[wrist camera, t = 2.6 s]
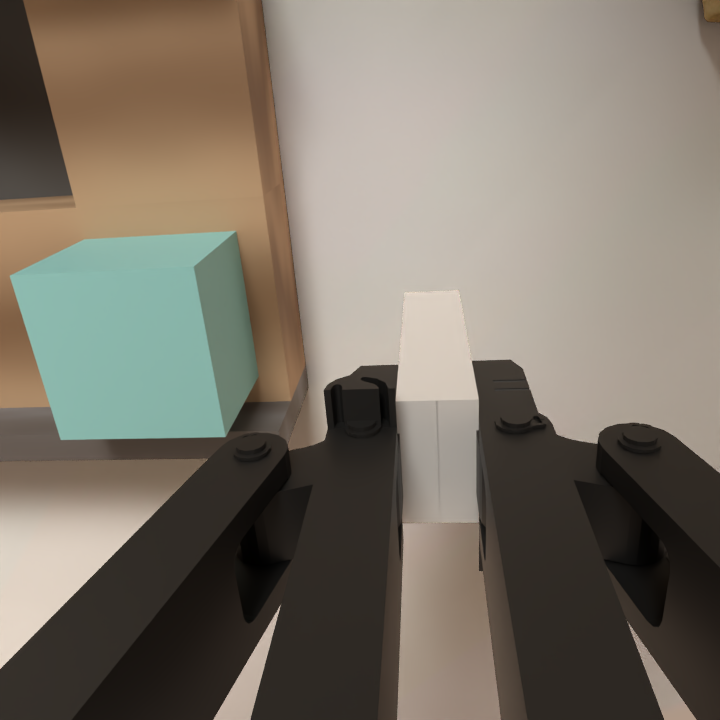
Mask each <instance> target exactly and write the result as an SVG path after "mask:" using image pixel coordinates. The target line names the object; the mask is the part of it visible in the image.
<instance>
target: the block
mask: <svg viewBox="0 0 720 720" xmlns="http://www.w3.org/2000/svg"><path fill="white" fill-rule="evenodd" d="M10 279H11V282H12V285H13V288H14V292H15V295H16V298H17V301H18V304H19V308H20V311H21V314H22V317H23V320H24V324H25V327H26V330H27V333H28V336H29V340H30V343H31V346H32V349H33V353H34V356H35V359H36V362H37V365H38V369H39V372H40V375H41V378H42V381H43V385H44V388H45V391H46V394H47V397H48V401H49V404H50V407H51V410H52V413H53V417H54V420H55V423H56V426H57V430H58V433H59V436H60V439H61V440H86V439H144V438H201V437H226V435H227V434H228V432H229V430H230V428H231V426H232V424H233V423H234V421H235V419H236V417H237V415H238V413H239V411H240V410H241V408H242V406H243V404H244V402H245V400H246V399H247V397H248V395H249V393H250V391H251V389H252V388H253V386H254V384H255V382H256V380H257V378H258V377H259V374H258V368H257V361H256V355H255V349H254V342H253V336H252V329H251V323H250V316H249V310H248V303H247V297H246V291H245V284H244V278H243V271H242V265H241V258H240V252H239V245H238V239H237V233H236V231H226V232H208V233H190V234H172V235H154V236H136V237H118V238H100V239H84V240H82V241H80V242H78V243H76V244H74V245H72V246H70V247H68V248H66V249H63V250H61V251H59V252H57V253H55V254H53V255H51V256H49V257H47V258H45V259H43V260H41V261H39V262H37V263H35V264H33V265H31V266H29V267H27V268H24V269H22V270H20V271H18V272H16V273H14V274H12V275H10Z"/></svg>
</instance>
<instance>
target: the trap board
mask: <svg viewBox="0 0 720 720" xmlns="http://www.w3.org/2000/svg"><path fill="white" fill-rule="evenodd" d="M226 231H236V233H237V239H238V245H239V252H240V258H241V265H242V271H243V278H244V284H245V291H246V297H247V303H248V310H249V316H250V323H251V329H252V336H253V342H254V349H255V355H256V361H257V368H258V374H259V377H258V378H257V380H256V382H255V384H254V386H253V388H252V389H251V391H250V393H249V395H248V397H247V399H246V400H245V402H244V404H243V406H242V408H241V410H240V411H239V413H238V415H237V417H236V419H235V421H234V423H233V424H232V426H231V428H230V430H229V432H228V434H227V435H226V437H201V438H144V439H86V440H61V439H60V436H59V433H58V430H57V426H56V423H55V420H54V417H53V413H52V410H51V407H50V404H49V401H48V397H47V394H46V391H45V388H44V385H43V381H42V378H41V375H40V372H39V369H38V365H37V362H36V359H35V356H34V353H33V349H32V346H31V343H30V340H29V336H28V333H27V330H26V327H25V324H24V320H23V317H22V314H21V311H20V308H19V304H18V301H17V298H16V295H15V292H14V288H13V285H12V282H11V279H10V275H12V274H14V273H16V272H18V271H20V270H22V269H24V268H27V267H29V266H31V265H33V264H35V263H37V262H39V261H41V260H43V259H45V258H47V257H49V256H51V255H53V254H55V253H57V252H59V251H61V250H63V249H66V248H68V247H70V246H72V245H74V244H76V243H78V242H80V241H82V240H84V239H100V238H118V237H136V236H154V235H172V234H190V233H208V232H226ZM307 390H308V382H307V373H306V365H305V357H304V349H303V340H302V332H301V324H300V315H299V307H298V299H297V291H296V282H295V274H294V266H293V257H292V249H291V241H290V233H289V224H288V216H287V208H286V200H285V191H284V183H283V175H282V166H281V158H280V150H279V142H278V133H277V125H276V117H275V108H274V100H273V92H272V84H271V75H270V67H269V59H268V50H267V42H266V34H265V26H264V17H263V9H262V1H261V0H0V461H52V460H126V459H200V458H210V457H211V456H212V455H213V454H214V453H215V452H216V451H217V450H218V449H219V448H220V447H221V446H222V445H224V444H225V443H227V442H228V441H229V440H231V439H234V438H236V437H239V436H241V435H243V434H247V433H249V434H250V433H254V432H259V433H271V434H275V435H279V436H280V437H282V438H283V439H285V440H286V442H287V445H288V442H289V439H290V436H291V434H292V431H293V428H294V425H295V423H296V420H297V417H298V415H299V412H300V409H301V406H302V404H303V401H304V398H305V395H306V393H307Z"/></svg>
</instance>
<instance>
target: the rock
mask: <svg viewBox="0 0 720 720" xmlns="http://www.w3.org/2000/svg"><path fill="white" fill-rule="evenodd" d="M702 3H703V8H704V18H705V20H706V21H707V22H720V0H702Z"/></svg>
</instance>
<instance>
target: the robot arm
mask: <svg viewBox="0 0 720 720" xmlns="http://www.w3.org/2000/svg"><path fill="white" fill-rule="evenodd" d="M324 397H325V407H326V416H327V425H328V430H327V434H326V438H325V440H324V441H323V442H320V443H318V444H315V445H313V446H309V447H305V448H301V449H296V450H291V451H289V450H288V445H287V442H286V440H285V439H283V438H282V437H280V436H279V435H275V434H271V433H259V432H254V433H250V434H249V433H247V434H243V435H241V436H239V437H236V438H234V439H231V440H229V441H228V442H227V443H225V444H224V445H222V446H221V447H220V448H219V449H218V450H217V451H216V452H215V453H214V454H213V455H212V456H211V457H210V458H209V459H208V460H207V461H206V462H205V463H204V464H203V465H202V466H201V467H200V468H199V469H198V470H197V471H196V472H195V473H194V474H193V475H192V476H191V477H190V478H189V479H188V480H187V481H186V482H185V483H184V484H183V485H182V486H181V487H180V488H179V489H178V490H177V491H176V492H175V493H174V494H173V495H172V496H171V497H170V498H169V499H168V500H167V501H166V502H165V503H164V504H163V505H162V506H161V507H160V508H159V509H158V510H157V511H156V512H155V513H154V514H153V516H152V517H151V518H150V519H149V520H148V521H147V522H146V523H145V524H144V525H143V526H142V527H141V528H140V529H139V530H138V531H137V532H136V533H135V534H134V535H133V536H132V537H131V538H130V539H129V540H128V541H127V542H126V543H125V544H124V545H123V546H122V547H121V548H120V549H119V550H118V551H117V552H116V553H115V554H114V555H113V556H112V557H111V558H110V559H109V560H108V561H107V562H106V563H105V564H104V565H103V566H102V567H101V568H100V569H99V570H98V571H97V572H96V573H95V574H94V575H93V576H92V577H91V578H90V579H89V580H88V581H87V582H86V583H85V584H84V585H83V586H82V587H81V588H80V589H79V590H78V591H77V592H76V593H75V594H74V595H73V596H72V597H71V598H70V599H69V600H68V601H67V602H66V603H65V604H64V605H63V606H62V607H61V608H60V609H59V610H58V611H57V612H56V613H55V614H54V615H53V616H52V617H51V618H50V619H49V620H48V621H47V622H46V623H45V625H44V626H43V627H42V628H41V629H40V630H39V631H38V632H37V633H36V634H35V635H34V636H33V637H32V638H31V639H30V640H29V641H28V642H27V643H26V644H25V645H24V646H23V647H22V648H21V649H20V650H19V651H18V652H17V653H16V654H15V655H14V656H13V657H12V658H11V659H10V660H9V661H8V662H7V663H6V664H5V665H4V666H3V667H2V668H1V669H0V720H213V719H214V717H215V715H216V714H217V712H218V710H219V709H220V707H221V705H222V704H223V702H224V700H225V698H226V697H227V695H228V693H229V692H230V690H231V688H232V686H233V685H234V683H235V681H236V680H237V678H238V676H239V675H240V673H241V671H242V669H243V668H244V666H245V664H246V663H247V661H248V659H249V657H250V656H251V654H252V652H253V651H254V649H255V647H256V646H257V644H258V642H259V640H260V639H261V637H262V635H263V634H264V632H265V630H266V629H267V627H268V625H269V623H270V622H271V620H272V618H273V617H274V615H275V613H276V611H277V610H278V608H279V606H280V605H281V607H280V611H279V615H278V618H277V622H276V626H275V630H274V633H273V637H272V641H271V645H270V648H269V652H268V656H267V660H266V663H265V667H264V671H263V675H262V678H261V682H260V686H259V690H258V693H257V697H256V701H255V705H254V708H253V712H252V716H251V720H397V704H398V676H399V648H400V620H401V593H402V565H403V524H402V523H479V571H483V574H484V582H485V591H486V599H487V607H488V615H489V623H490V632H491V640H492V648H493V656H494V664H495V673H496V681H497V689H498V697H499V705H500V714H501V720H664V718H663V715H662V713H661V710H660V707H659V705H658V702H657V699H656V697H655V694H654V692H653V689H652V686H651V684H650V681H649V678H648V676H647V673H646V670H645V668H644V665H643V662H642V660H641V657H640V654H639V652H638V649H637V647H636V644H635V641H634V639H633V636H632V633H631V631H630V628H629V625H628V623H627V621H628V622H629V624H630V625H631V627H632V628H633V630H634V631H635V632H636V634H637V635H638V637H639V638H640V640H641V641H642V642H643V644H644V645H645V647H646V648H647V650H648V651H649V652H650V654H651V655H652V657H653V658H654V660H655V661H656V662H657V664H658V665H659V667H660V668H661V669H662V671H663V672H664V674H665V675H666V677H667V678H668V679H669V681H670V682H671V684H672V685H673V687H674V688H675V689H676V691H677V692H678V694H679V695H680V697H681V698H682V699H683V701H684V702H685V704H686V705H687V706H688V708H689V709H690V711H691V712H692V714H693V715H694V716H695V718H696V719H697V720H720V473H719V472H717V471H716V470H715V469H714V468H712V467H711V466H710V465H709V464H708V463H706V462H705V461H704V460H703V459H701V458H700V457H699V456H698V455H697V454H695V453H694V452H693V451H692V450H690V449H689V448H688V447H687V446H686V445H684V444H683V443H682V442H681V441H679V440H678V439H677V438H676V437H674V436H673V435H671V434H669V433H668V432H666V431H664V430H661V429H658V428H655V427H652V426H650V425H647V424H639V423H629V424H617V425H613V426H610V427H607V428H605V429H604V430H603V431H601V432H600V434H599V438H598V444H593V443H587V442H580V441H576V440H571V439H567V438H564V437H561V436H559V435H557V434H556V432H555V430H554V427H553V424H552V423H551V422H550V420H549V419H548V418H547V417H545V416H544V415H542V414H540V413H538V411H537V408H536V405H535V402H534V399H533V397H532V394H531V391H530V390H529V385H528V382H527V381H526V377H525V374H524V371H523V369H522V368H521V367H520V366H518V365H517V364H515V363H514V362H513V361H511V360H487V361H472V359H471V354H470V348H469V343H468V337H467V331H466V326H465V320H464V315H463V309H462V304H461V298H460V293H459V290H448V291H425V292H404V304H403V316H402V328H401V341H400V353H399V365H377V366H360V367H359V368H358V369H357V370H356V371H354V372H353V373H352V374H351V375H350V376H346V377H343V378H339V379H336V380H335V381H333V382H331V383H329V384H328V385H327V387H326V388H325V389H324Z"/></svg>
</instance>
